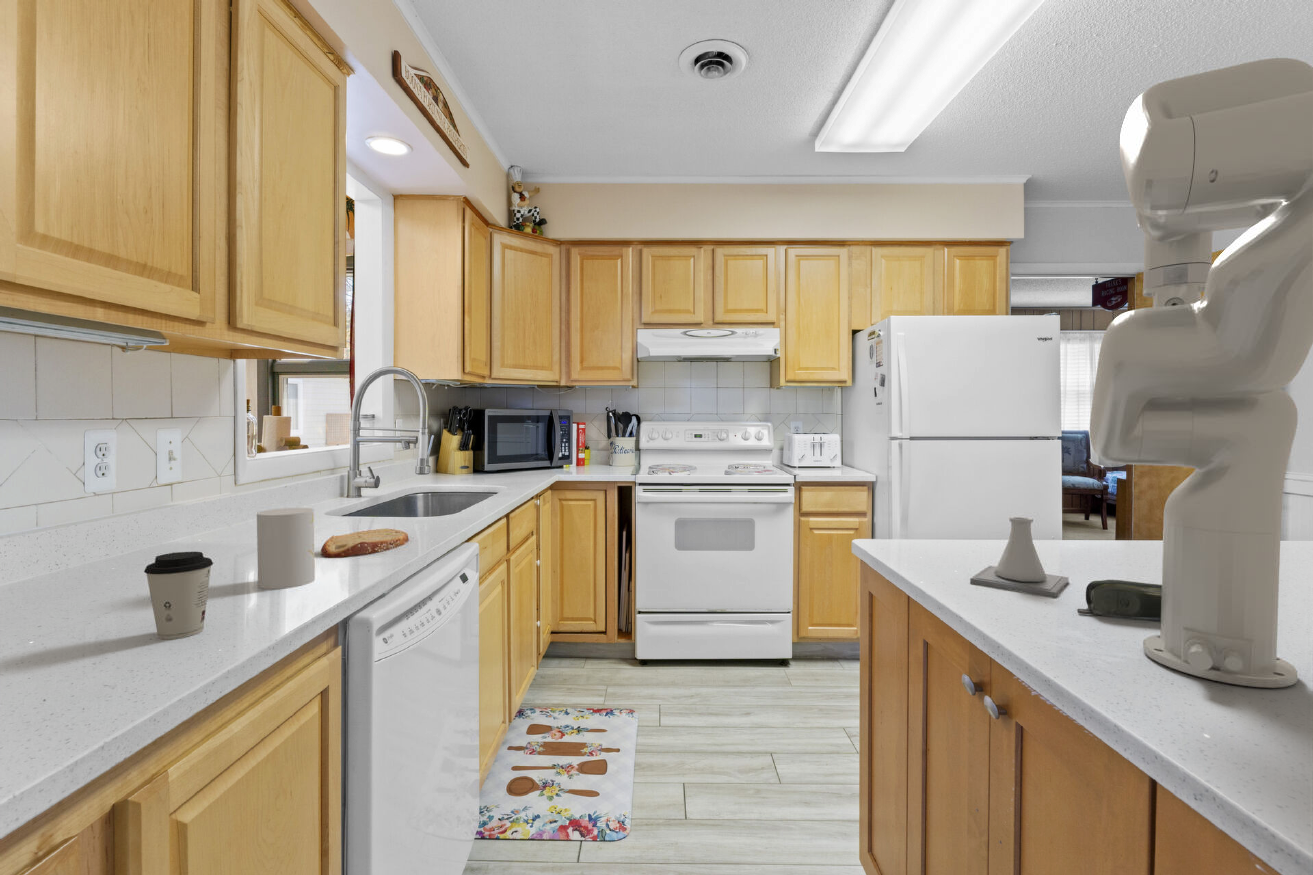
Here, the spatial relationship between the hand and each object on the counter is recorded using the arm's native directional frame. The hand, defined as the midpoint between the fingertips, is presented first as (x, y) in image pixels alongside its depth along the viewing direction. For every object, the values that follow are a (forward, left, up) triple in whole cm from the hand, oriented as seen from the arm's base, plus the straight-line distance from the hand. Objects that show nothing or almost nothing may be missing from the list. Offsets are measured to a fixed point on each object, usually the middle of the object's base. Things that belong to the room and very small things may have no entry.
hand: (1173, 399), depth 88 cm
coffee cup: (-101, +93, -31) cm, 141 cm away
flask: (-1, +19, -30) cm, 35 cm away
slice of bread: (-63, +129, -31) cm, 147 cm away
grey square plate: (-1, +19, -30) cm, 36 cm away
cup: (-84, +110, -31) cm, 142 cm away
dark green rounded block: (-10, +3, -31) cm, 32 cm away
